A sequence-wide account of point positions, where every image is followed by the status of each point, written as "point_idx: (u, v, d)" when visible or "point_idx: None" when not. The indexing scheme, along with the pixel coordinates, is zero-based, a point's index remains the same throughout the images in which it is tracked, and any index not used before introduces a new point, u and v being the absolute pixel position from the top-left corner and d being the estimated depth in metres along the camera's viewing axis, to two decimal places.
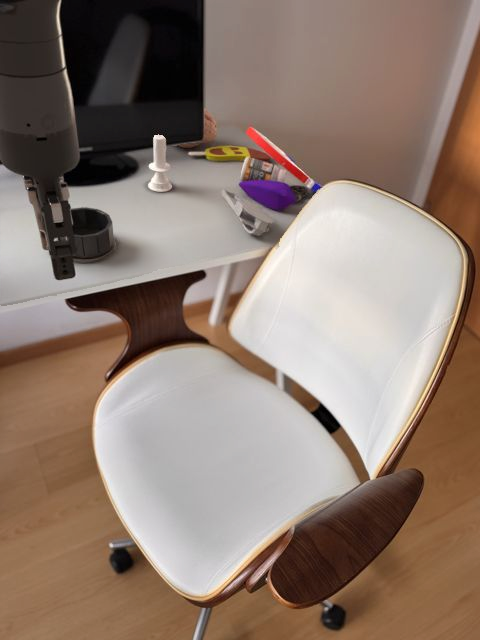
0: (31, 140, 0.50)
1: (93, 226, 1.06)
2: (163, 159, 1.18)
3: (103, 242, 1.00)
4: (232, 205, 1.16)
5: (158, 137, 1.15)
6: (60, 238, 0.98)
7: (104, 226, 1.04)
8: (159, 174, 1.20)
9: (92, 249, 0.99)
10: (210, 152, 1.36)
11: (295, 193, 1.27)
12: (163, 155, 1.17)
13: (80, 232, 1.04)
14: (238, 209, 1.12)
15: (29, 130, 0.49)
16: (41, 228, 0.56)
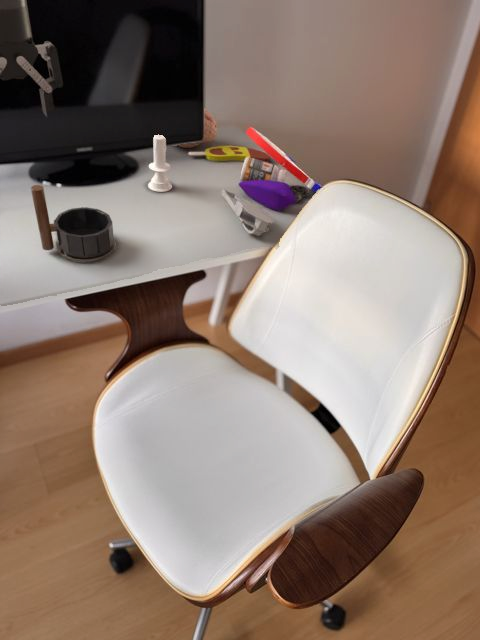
0: None
1: (93, 226, 1.06)
2: (163, 159, 1.18)
3: (103, 242, 1.00)
4: (232, 205, 1.16)
5: (158, 137, 1.15)
6: (60, 238, 0.98)
7: (104, 226, 1.04)
8: (159, 174, 1.20)
9: (92, 249, 0.99)
10: (210, 152, 1.36)
11: (295, 193, 1.27)
12: (163, 155, 1.17)
13: (80, 232, 1.04)
14: (238, 209, 1.13)
15: None
16: None
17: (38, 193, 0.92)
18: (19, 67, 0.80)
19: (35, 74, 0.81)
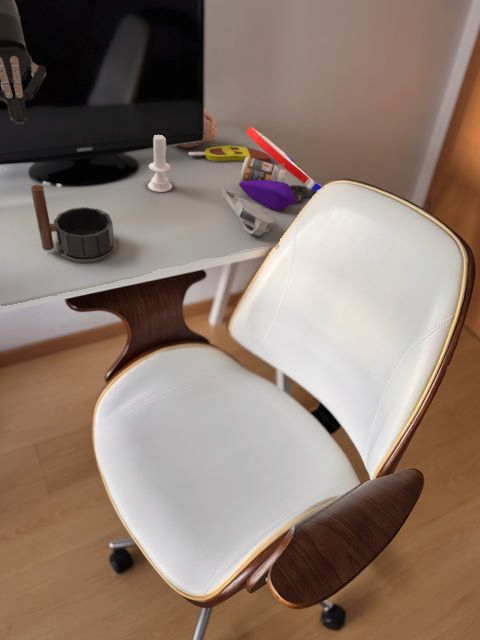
0: None
1: (93, 226, 1.06)
2: (163, 159, 1.18)
3: (103, 242, 1.00)
4: (232, 205, 1.16)
5: (158, 137, 1.15)
6: (60, 238, 0.98)
7: (104, 226, 1.04)
8: (159, 174, 1.20)
9: (92, 249, 0.99)
10: (210, 152, 1.36)
11: (295, 193, 1.27)
12: (163, 155, 1.17)
13: (80, 232, 1.04)
14: (238, 209, 1.13)
15: None
16: None
17: (38, 193, 0.92)
18: (9, 66, 0.95)
19: (17, 76, 0.95)
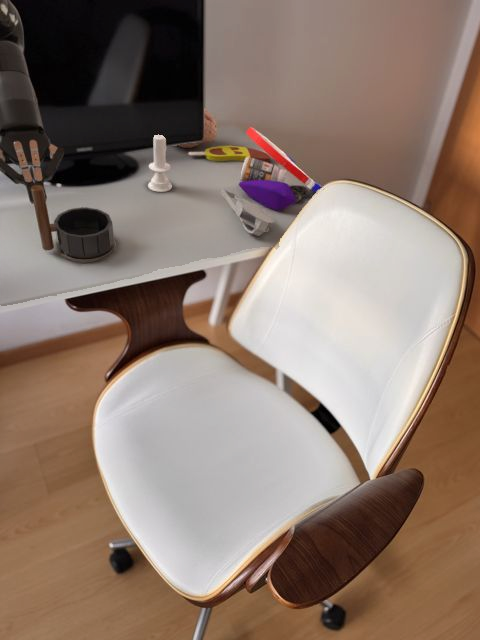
0: None
1: (93, 226, 1.06)
2: (163, 159, 1.18)
3: (103, 242, 1.00)
4: (232, 205, 1.16)
5: (158, 137, 1.15)
6: (60, 238, 0.98)
7: (104, 226, 1.04)
8: (159, 174, 1.20)
9: (92, 249, 0.99)
10: (210, 152, 1.36)
11: (295, 193, 1.27)
12: (163, 155, 1.17)
13: (79, 232, 1.04)
14: (238, 209, 1.13)
15: None
16: (21, 173, 0.96)
17: (38, 193, 0.92)
18: (28, 150, 0.94)
19: (36, 160, 0.94)
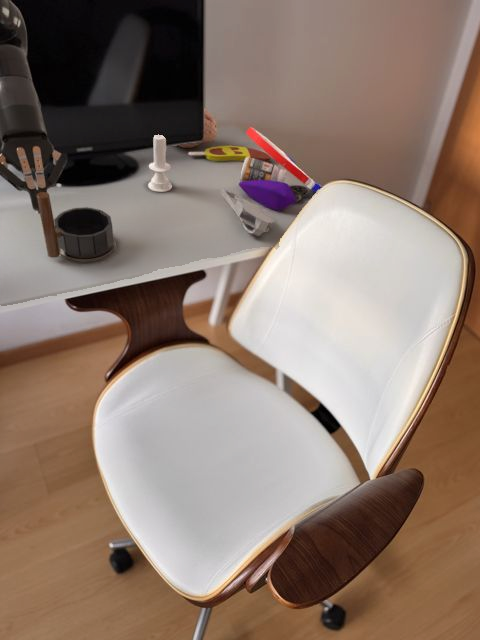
0: None
1: (84, 225, 1.05)
2: (163, 159, 1.18)
3: (109, 237, 1.01)
4: (232, 205, 1.16)
5: (158, 137, 1.15)
6: (68, 242, 0.97)
7: (97, 223, 1.05)
8: (159, 174, 1.20)
9: (102, 246, 1.00)
10: (210, 152, 1.36)
11: (295, 193, 1.27)
12: (163, 155, 1.17)
13: (75, 234, 1.03)
14: (238, 209, 1.13)
15: None
16: (24, 179, 0.95)
17: (46, 200, 0.91)
18: (31, 156, 0.93)
19: (39, 166, 0.93)
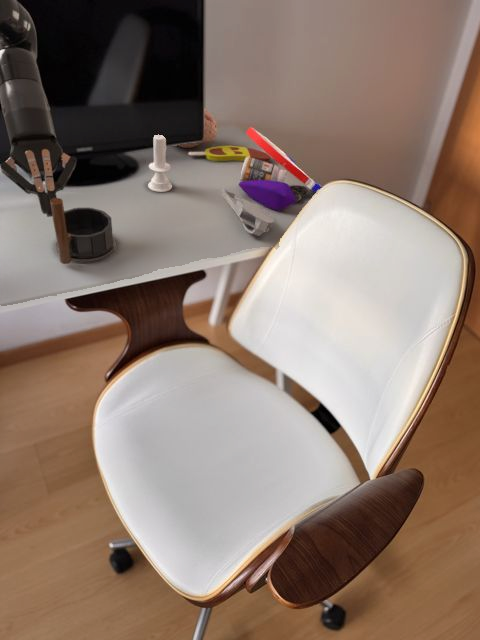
0: None
1: (74, 227, 1.05)
2: (163, 159, 1.18)
3: (112, 231, 1.02)
4: (232, 205, 1.16)
5: (158, 137, 1.15)
6: (80, 244, 0.97)
7: (87, 221, 1.05)
8: (159, 174, 1.20)
9: (109, 241, 1.01)
10: (210, 152, 1.36)
11: (295, 193, 1.27)
12: (163, 155, 1.17)
13: None
14: (238, 209, 1.13)
15: None
16: (33, 182, 0.94)
17: (61, 205, 0.90)
18: (40, 159, 0.92)
19: (48, 169, 0.92)
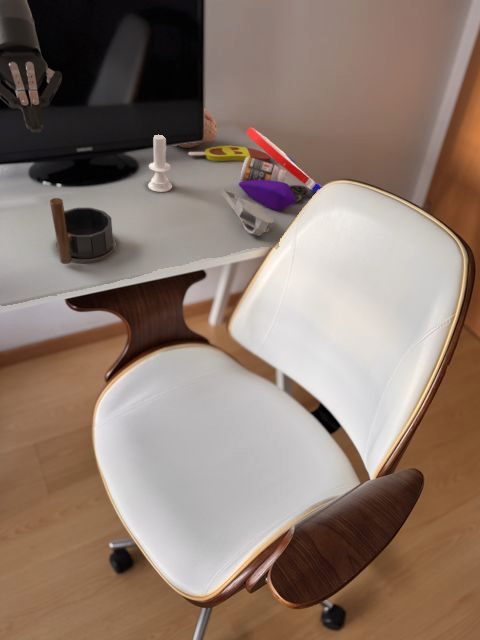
0: None
1: (74, 227, 1.05)
2: (163, 159, 1.18)
3: (112, 231, 1.02)
4: (232, 205, 1.16)
5: (158, 137, 1.15)
6: (80, 244, 0.97)
7: (87, 221, 1.05)
8: (159, 174, 1.20)
9: (109, 241, 1.01)
10: (210, 152, 1.36)
11: (295, 193, 1.27)
12: (163, 155, 1.17)
13: None
14: (238, 209, 1.13)
15: None
16: (17, 97, 0.93)
17: (61, 205, 0.90)
18: (24, 72, 0.91)
19: (32, 82, 0.91)
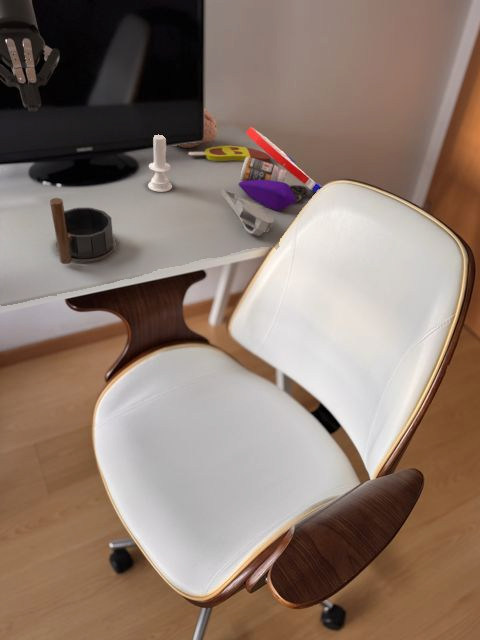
0: None
1: (74, 227, 1.05)
2: (163, 159, 1.18)
3: (112, 231, 1.02)
4: (232, 205, 1.16)
5: (158, 137, 1.15)
6: (80, 244, 0.97)
7: (87, 221, 1.05)
8: (159, 174, 1.20)
9: (109, 241, 1.01)
10: (210, 152, 1.36)
11: (295, 193, 1.27)
12: (163, 155, 1.17)
13: None
14: (238, 209, 1.13)
15: None
16: (14, 75, 0.91)
17: (61, 205, 0.90)
18: (21, 49, 0.89)
19: (30, 60, 0.89)
